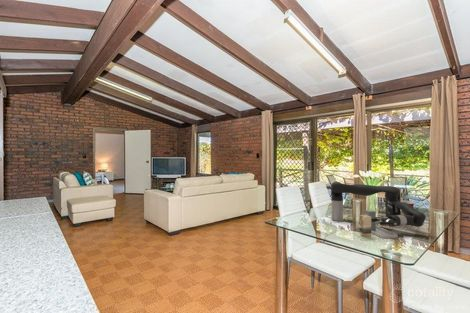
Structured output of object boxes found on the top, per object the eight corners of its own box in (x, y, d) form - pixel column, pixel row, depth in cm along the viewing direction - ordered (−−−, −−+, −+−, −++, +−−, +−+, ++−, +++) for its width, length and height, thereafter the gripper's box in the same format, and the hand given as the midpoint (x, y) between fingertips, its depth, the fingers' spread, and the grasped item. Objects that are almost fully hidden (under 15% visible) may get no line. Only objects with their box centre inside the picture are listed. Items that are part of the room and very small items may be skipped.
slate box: (375, 230, 185) (375, 211, 184) (369, 230, 184) (369, 211, 184) (371, 228, 190) (371, 209, 189) (365, 228, 189) (364, 210, 189)
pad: (381, 241, 165) (381, 239, 165) (365, 242, 164) (365, 240, 164) (365, 233, 181) (365, 232, 181) (351, 234, 179) (351, 232, 179)
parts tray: (397, 238, 168) (397, 234, 168) (381, 240, 167) (381, 235, 167) (372, 227, 194) (372, 223, 194) (358, 228, 192) (358, 224, 192)
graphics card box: (401, 220, 212) (401, 188, 212) (392, 220, 213) (391, 188, 213) (392, 215, 229) (392, 185, 228) (384, 215, 230) (384, 185, 230)
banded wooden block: (371, 237, 170) (371, 216, 170) (364, 237, 169) (364, 216, 169) (366, 234, 175) (366, 214, 175) (359, 235, 174) (359, 215, 174)
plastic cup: (410, 216, 224) (410, 203, 224) (398, 214, 234) (398, 201, 234) (417, 214, 230) (417, 201, 230) (404, 212, 239) (404, 200, 239)
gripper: (389, 212, 182) (368, 214, 180) (405, 217, 168) (383, 219, 166) (389, 223, 182) (369, 224, 180) (405, 228, 168) (383, 230, 166)
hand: (375, 221), depth 173 cm, fingers open, 8 cm apart
